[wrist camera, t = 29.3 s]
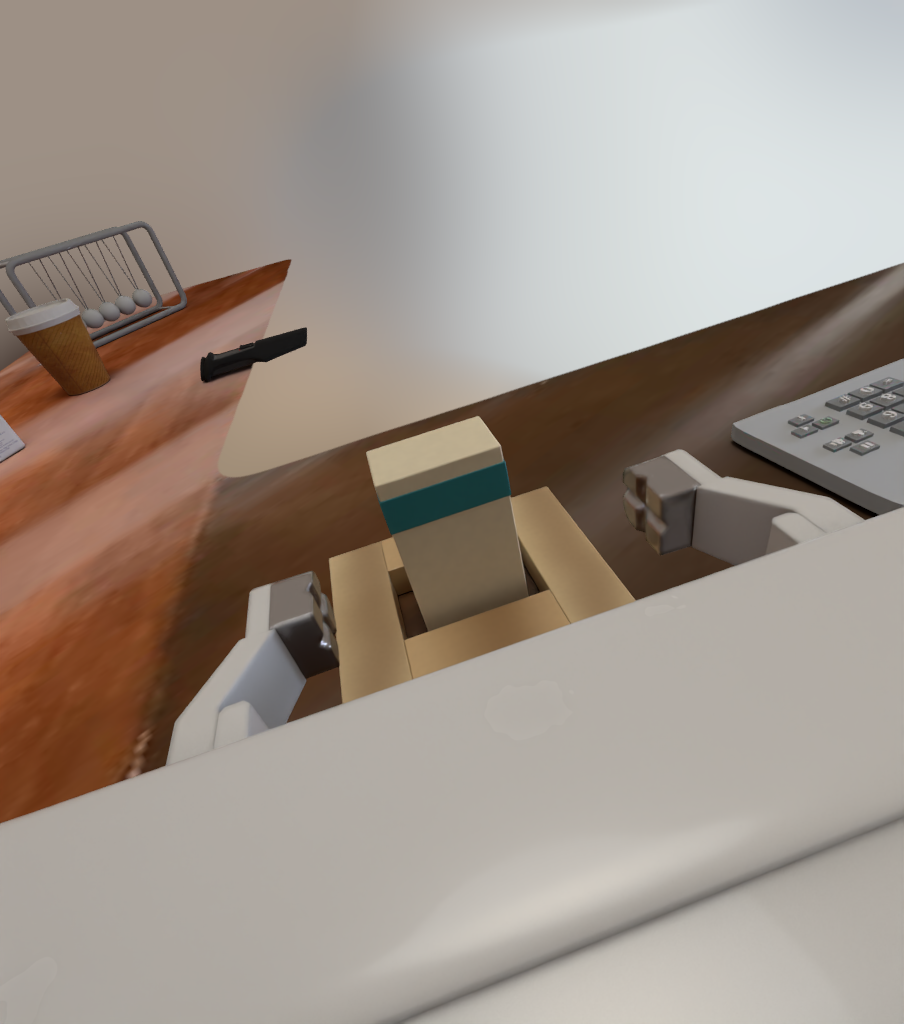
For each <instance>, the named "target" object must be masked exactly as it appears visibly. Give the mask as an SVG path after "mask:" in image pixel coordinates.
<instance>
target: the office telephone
mask: <svg viewBox="0 0 904 1024" xmlns="http://www.w3.org/2000/svg"><path fill="white" fill-rule="evenodd" d="M731 438H732V440H734V441H735V442H736V443H738V444H740V445H742V446H743V447H745V448H747V449H749V450H751V451H753V452H755V453H757V454H759V455H761V456H763V457H765V458H767V459H769V460H771V461H773V462H775V463H777V464H779V465H781V466H783V467H785V468H787V469H789V470H791V471H793V472H795V473H797V474H799V475H801V476H803V477H805V478H806V479H808V480H810V481H812V482H814V483H816V484H818V485H820V486H822V487H824V488H826V489H828V490H830V491H832V492H834V493H836V494H838V495H840V496H842V497H844V498H846V499H848V500H850V501H852V502H854V503H856V504H858V505H860V506H862V507H864V508H866V509H868V510H870V511H872V512H875V513H877V514H879V515H882V514H885V513H887V512H890V511H893V510H896V509H899V508H902V507H904V359H901V360H899V361H896V362H894V363H891V364H888V365H886V366H883V367H881V368H878V369H876V370H873V371H871V372H868V373H865V374H863V375H860V376H858V377H855V378H853V379H850V380H848V381H845V382H842V383H840V384H837V385H835V386H832V387H830V388H827V389H825V390H822V391H820V392H817V393H814V394H812V395H809V396H807V397H804V398H802V399H799V400H797V401H794V402H791V403H788V404H785V405H781V406H778V407H775V408H773V409H770V410H767V411H764V412H762V413H759V414H756V415H754V416H751V417H749V418H746V419H744V420H741V421H738V422H736V423H733V425H732V433H731Z"/></svg>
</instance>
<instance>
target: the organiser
mask: <svg viewBox="0 0 904 1024" xmlns="http://www.w3.org/2000/svg"><path fill="white" fill-rule="evenodd" d="M511 503H512V509H513V514H514V520H515V525H516V530H517V536H518V541H519V547H520V552H521V557H522V561H523V563H524V565H525V566H526V568H527V570H528V571H529V573H530V575H531V577H532V578H533V580H534V582H535V584H536V585H537V587H538V589H539V591H540V593H538V594H535V595H532V596H529V597H526V598H523V599H520V600H518V601H515V602H512V603H509V604H506V605H503V606H500V607H498V608H495V609H492V610H489V611H486V612H483V613H480V614H478V615H475V616H472V617H469V618H466V619H463V620H460V621H458V622H455V623H452V624H449V625H446V626H443V627H440V628H438V629H435V630H432V631H429V632H426V633H423V634H420V635H417V636H415V637H412V638H409V639H408V638H407V634H406V630H405V626H404V622H403V617H402V613H401V609H400V605H399V601H398V597H397V595H400V594H403V593H406V592H409V591H412V590H413V589H412V587H411V584H410V581H409V578H408V576H407V573H406V570H405V568H404V565H403V562H402V559H401V557H400V554H399V551H398V549H397V546H396V543H395V541H394V538H393V537H392V538H389V539H386V540H383V541H381V542H378V543H375V544H372V545H369V546H366V547H363V548H360V549H357V550H354V551H351V552H348V553H345V554H342V555H339V556H336V557H333V558H330V559H329V565H330V575H331V586H332V597H333V607H334V617H335V621H336V628H337V632H336V639H337V643H338V648H339V659H340V666H339V672H340V682H341V693H342V704H344V703H347V702H349V701H352V700H355V699H358V698H361V697H364V696H367V695H369V694H372V693H375V692H378V691H381V690H384V689H387V688H389V687H392V686H395V685H398V684H401V683H404V682H406V681H409V680H412V679H415V678H418V677H421V676H424V675H426V674H429V673H432V672H435V671H438V670H441V669H444V668H446V667H449V666H452V665H455V664H458V663H461V662H463V661H466V660H469V659H472V658H475V657H478V656H481V655H483V654H486V653H489V652H492V651H495V650H498V649H501V648H503V647H506V646H509V645H512V644H515V643H518V642H520V641H523V640H526V639H529V638H532V637H535V636H537V635H540V634H543V633H546V632H549V631H552V630H554V629H557V628H560V627H563V626H566V625H569V624H571V623H574V622H577V621H580V620H583V619H586V618H588V617H591V616H594V615H597V614H600V613H603V612H606V611H608V610H611V609H614V608H617V607H620V606H623V605H626V604H628V603H631V602H634V601H636V600H635V599H634V598H633V597H632V595H631V594H630V593H629V591H628V590H627V589H626V588H625V586H624V585H623V584H622V582H621V581H620V580H619V579H618V577H617V576H616V575H615V573H614V572H613V571H612V570H611V568H610V567H609V566H608V564H607V563H606V562H605V561H604V559H603V558H602V557H601V555H600V554H599V553H598V552H597V550H596V549H595V548H594V546H593V545H592V544H591V543H590V541H589V540H588V539H587V537H586V536H585V535H584V534H583V532H582V531H581V530H580V528H579V527H578V526H577V525H576V523H575V522H574V521H573V519H572V518H571V517H570V516H569V514H568V513H567V512H566V510H565V509H564V508H563V507H562V505H561V504H560V503H559V501H558V500H557V499H556V498H555V496H554V495H553V494H552V492H551V491H550V490H549V489H548V487H543V488H540V489H537V490H534V491H531V492H528V493H525V494H522V495H519V496H516V497H513V498H511Z"/></svg>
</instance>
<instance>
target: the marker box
mask: <svg viewBox="0 0 904 1024" xmlns="http://www.w3.org/2000/svg"><path fill="white" fill-rule="evenodd" d="M366 455H367V459H368V463H369V467H370V471H371V474H372V478H373V482H374V486H375V489H376V492H377V496H378V500H379V504H380V506H381V509H382V512H383V515H384V517H385V520H386V523H387V525H388V528H389V531H390V533H391V535H393V538H394V541H395V543H396V546H397V549H398V551H399V554H400V557H401V559H402V562H403V565H404V568H405V570H406V573H407V576H408V578H409V581H410V584H411V587H412V589H413V592H414V595H415V597H416V600H417V603H418V605H419V608H420V611H421V614H422V616H423V619H424V622H425V624H426V627H427V630H428V632H429V631H432V630H435V629H438V628H440V627H443V626H446V625H449V624H452V623H455V622H458V621H460V620H463V619H466V618H469V617H472V616H475V615H478V614H480V613H483V612H486V611H489V610H492V609H495V608H498V607H500V606H503V605H506V604H509V603H512V602H515V601H518V600H520V599H523V598H526V597H529V595H528V590H527V584H526V579H525V573H524V568H523V563H522V557H521V552H520V547H519V541H518V536H517V530H516V525H515V520H514V514H513V509H512V503H511V498H510V495H511V490H510V484H509V479H508V474H507V468H506V463H505V461H504V459H503V455H502V450H501V446H500V444H499V443H498V441H497V440H496V439H495V437H494V436H493V435H492V433H491V432H490V431H489V429H488V428H487V426H486V425H485V424H484V422H483V421H482V420H481V418H480V417H479V416H477V417H474V418H471V419H468V420H464V421H461V422H458V423H455V424H452V425H449V426H446V427H443V428H439V429H436V430H433V431H430V432H427V433H424V434H421V435H418V436H415V437H411V438H408V439H405V440H402V441H399V442H396V443H393V444H390V445H386V446H383V447H380V448H377V449H374V450H371V451H368V452H366Z"/></svg>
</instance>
